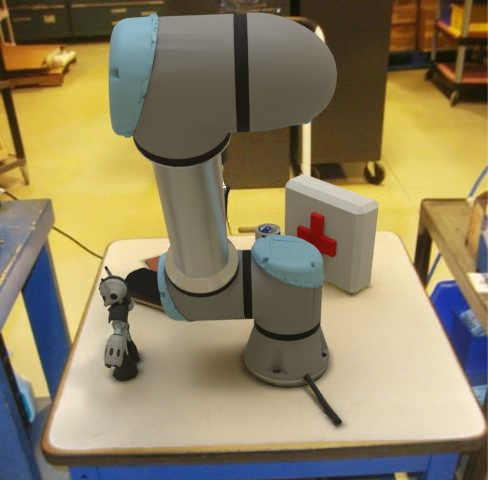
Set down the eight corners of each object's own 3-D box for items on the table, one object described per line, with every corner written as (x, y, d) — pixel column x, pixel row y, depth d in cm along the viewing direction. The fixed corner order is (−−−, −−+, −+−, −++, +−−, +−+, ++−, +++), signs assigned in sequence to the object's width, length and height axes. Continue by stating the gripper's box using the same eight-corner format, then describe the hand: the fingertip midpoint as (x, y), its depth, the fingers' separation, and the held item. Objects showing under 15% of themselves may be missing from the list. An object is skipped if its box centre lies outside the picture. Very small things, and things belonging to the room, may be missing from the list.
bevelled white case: (277, 264, 140) (278, 181, 128) (301, 252, 144) (304, 170, 133) (349, 300, 127) (357, 212, 115) (373, 286, 131) (383, 199, 120)
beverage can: (273, 300, 128) (273, 235, 119) (252, 294, 130) (250, 230, 121) (284, 288, 132) (285, 225, 123) (263, 283, 134) (262, 220, 125)
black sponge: (202, 298, 129) (201, 283, 127) (178, 318, 124) (177, 303, 121) (141, 279, 136) (139, 265, 134) (116, 297, 131) (113, 283, 128)
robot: (134, 402, 104) (117, 304, 92) (105, 404, 104) (84, 305, 92) (146, 334, 120) (132, 242, 108) (121, 334, 120) (105, 243, 108)
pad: (235, 254, 144) (235, 253, 144) (155, 275, 138) (155, 274, 137) (222, 241, 150) (222, 240, 150) (144, 260, 143) (144, 259, 143)
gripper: (241, 147, 113) (244, 259, 127) (212, 127, 122) (218, 233, 136) (203, 155, 110) (211, 268, 124) (177, 134, 120) (187, 241, 134)
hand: (215, 250), depth 130 cm, fingers closed
